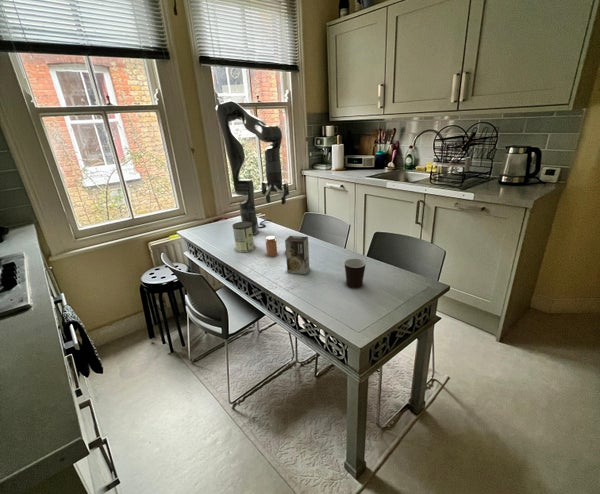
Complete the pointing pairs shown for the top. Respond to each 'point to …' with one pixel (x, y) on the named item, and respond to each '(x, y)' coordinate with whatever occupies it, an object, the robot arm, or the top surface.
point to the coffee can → (243, 236)
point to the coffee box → (297, 254)
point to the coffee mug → (354, 272)
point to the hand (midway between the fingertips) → (276, 203)
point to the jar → (271, 246)
